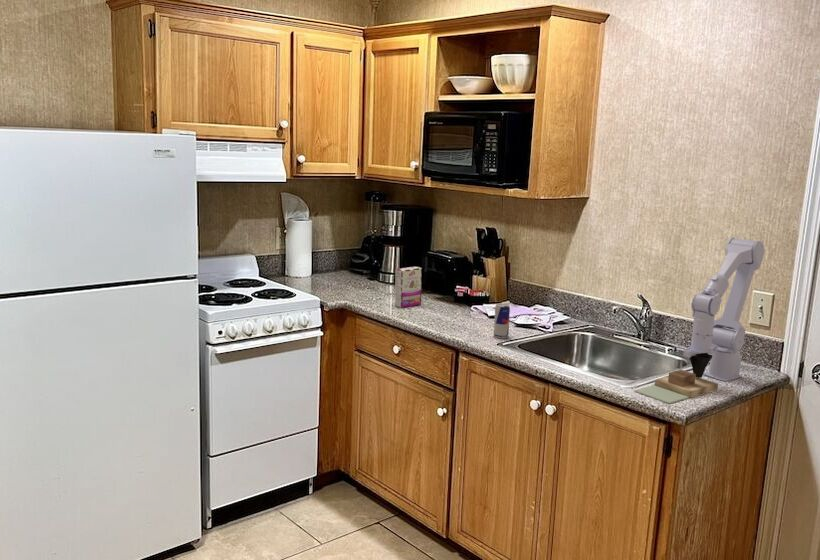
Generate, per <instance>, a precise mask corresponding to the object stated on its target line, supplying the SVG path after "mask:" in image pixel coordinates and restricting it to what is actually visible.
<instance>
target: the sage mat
mask: <svg viewBox="0 0 820 560" xmlns="http://www.w3.org/2000/svg"><path fill="white" fill-rule="evenodd" d="M633 392H634V393H637V394H640V395H642V396H646V397H647V398H650V399H654V400H657V401H659V402H662V403H664V404H667V405H670V404H674V403H678V402H681V401H684V400H688V399H690V398H689V397H687V396H684V395H681V394H678V393H676V392H673V391H670V390H667V389H664V388H661V387H658V386H655V384H654V385H649V386H644V387H642V388H638V389H635V390H633Z"/></svg>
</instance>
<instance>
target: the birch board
mask: <svg viewBox="0 0 820 560" xmlns="http://www.w3.org/2000/svg"><path fill="white" fill-rule="evenodd" d="M668 377H669V375H668V376H665V377H661V378H657V379H655V380H654V385H655V386H658V387H661V388H664V389H667V390H670V391H673V392H676V393H678V394H681V395H684V396H687V397H689V398H688V399H691V398H695V397H698V396H701V395H705V394H709V393H711V392H714V391H718V387H719V384H718V382H714V381H711V380H709V379H704V378H702V377H701V378H698V377H695V384H692V385H689V386H685V387H681V386H677V385H674V384H671V383H668Z"/></svg>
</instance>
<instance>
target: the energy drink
mask: <svg viewBox="0 0 820 560" xmlns="http://www.w3.org/2000/svg"><path fill="white" fill-rule="evenodd" d="M494 308H495V309H494V323H493V324H494V325H493V328H494V329H493V337H494V338H495V339H500V340H504V339H508V337H509V333H510V332H509V331H510V329H509V328H510V313H511V312H510V310H511V307H510V305H509V304H506V303H497V304H495V307H494Z"/></svg>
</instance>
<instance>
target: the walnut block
mask: <svg viewBox="0 0 820 560" xmlns="http://www.w3.org/2000/svg"><path fill="white" fill-rule="evenodd" d="M668 376H669V377H668ZM668 376H667V377H668V383H671V384H674V385H677V386H681V387H685V386H689V385H692V384H695V377H696V374H694V373H693V372H690V371H688V370H683V369H678V370H675V371H669V372H668Z"/></svg>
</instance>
